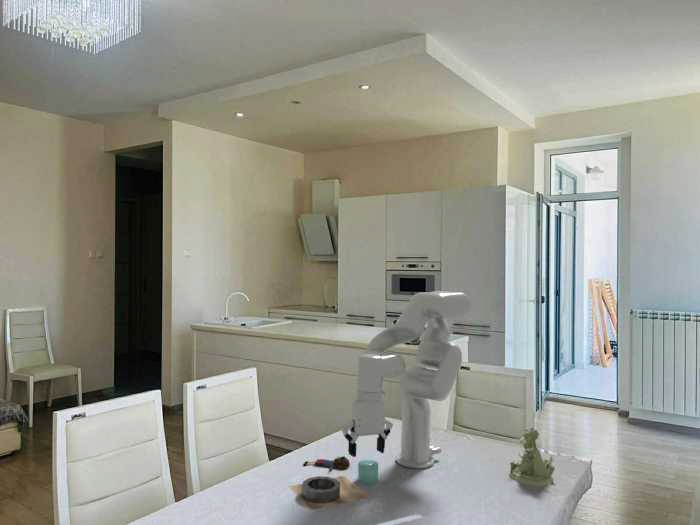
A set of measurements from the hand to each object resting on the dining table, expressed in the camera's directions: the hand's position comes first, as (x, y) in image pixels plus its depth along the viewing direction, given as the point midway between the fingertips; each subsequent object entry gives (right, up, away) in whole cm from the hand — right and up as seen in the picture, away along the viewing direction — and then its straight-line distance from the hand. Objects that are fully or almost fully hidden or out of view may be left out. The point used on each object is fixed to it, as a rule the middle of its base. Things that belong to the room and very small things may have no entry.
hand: (366, 453), depth 159 cm
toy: (-13, -10, +12) cm, 20 cm away
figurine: (+52, -11, +8) cm, 54 cm away
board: (-11, -9, -8) cm, 16 cm away
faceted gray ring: (-13, -8, -10) cm, 18 cm away
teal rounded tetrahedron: (0, -9, +1) cm, 9 cm away
